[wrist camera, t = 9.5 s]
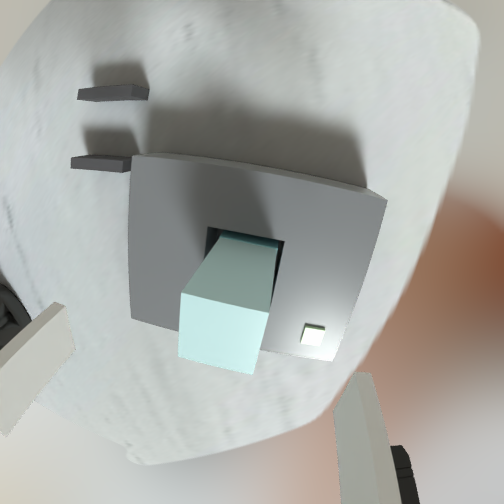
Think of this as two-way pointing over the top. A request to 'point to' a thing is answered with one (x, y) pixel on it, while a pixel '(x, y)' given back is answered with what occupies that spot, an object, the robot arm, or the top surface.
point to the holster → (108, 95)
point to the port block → (255, 223)
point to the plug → (228, 303)
